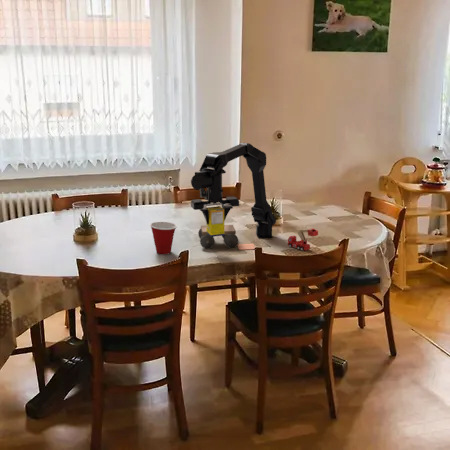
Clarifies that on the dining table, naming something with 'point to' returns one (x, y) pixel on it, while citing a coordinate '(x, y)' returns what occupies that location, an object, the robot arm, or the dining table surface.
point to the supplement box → (215, 221)
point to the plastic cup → (163, 236)
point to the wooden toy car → (228, 236)
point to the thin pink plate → (246, 246)
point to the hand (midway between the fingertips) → (215, 223)
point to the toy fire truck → (303, 242)
